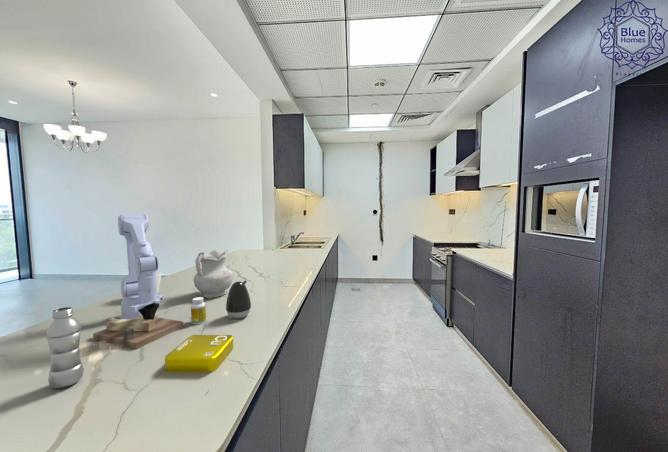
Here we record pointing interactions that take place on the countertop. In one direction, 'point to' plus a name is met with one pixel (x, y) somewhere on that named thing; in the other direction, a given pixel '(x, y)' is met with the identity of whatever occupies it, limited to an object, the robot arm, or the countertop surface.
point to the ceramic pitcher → (212, 274)
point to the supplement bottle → (198, 311)
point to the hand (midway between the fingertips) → (149, 324)
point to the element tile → (199, 354)
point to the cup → (158, 277)
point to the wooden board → (139, 333)
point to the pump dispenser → (238, 300)
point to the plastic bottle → (64, 349)
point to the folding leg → (129, 324)
